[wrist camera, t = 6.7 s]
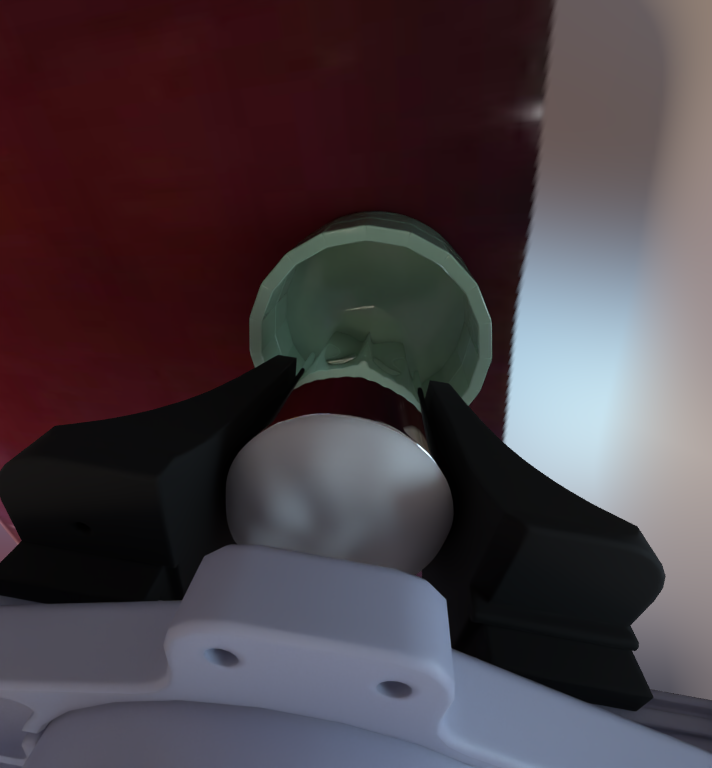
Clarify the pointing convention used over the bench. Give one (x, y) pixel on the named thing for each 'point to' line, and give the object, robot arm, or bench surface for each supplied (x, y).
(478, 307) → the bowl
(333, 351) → the milkshake cup
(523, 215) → the bench surface
